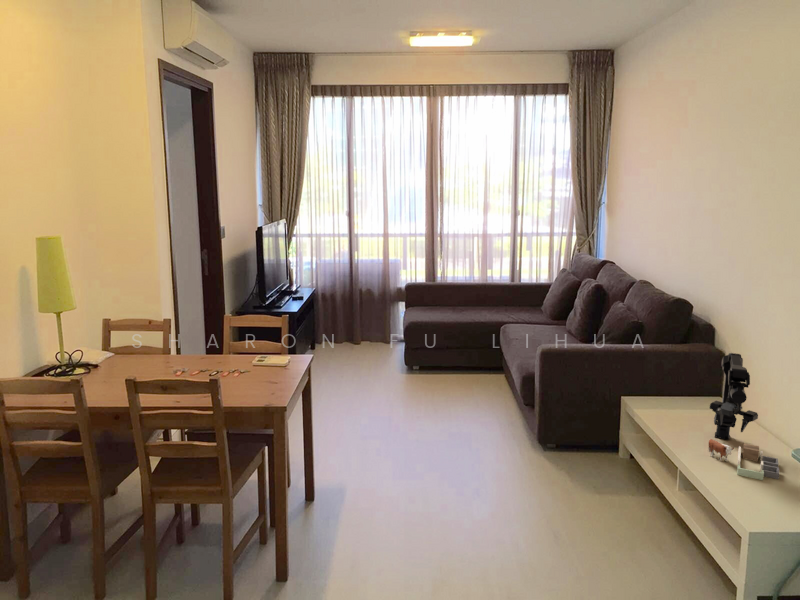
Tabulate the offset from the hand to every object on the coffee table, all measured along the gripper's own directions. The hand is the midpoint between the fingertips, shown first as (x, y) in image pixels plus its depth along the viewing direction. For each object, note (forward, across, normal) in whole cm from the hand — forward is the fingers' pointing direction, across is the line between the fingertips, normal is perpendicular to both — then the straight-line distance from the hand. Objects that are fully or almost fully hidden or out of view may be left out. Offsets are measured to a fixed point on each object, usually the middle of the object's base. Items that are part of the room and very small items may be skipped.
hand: (730, 428), depth 284 cm
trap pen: (+13, +13, 0) cm, 19 cm away
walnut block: (+14, +7, +8) cm, 17 cm away
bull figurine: (+14, -1, -5) cm, 15 cm away
